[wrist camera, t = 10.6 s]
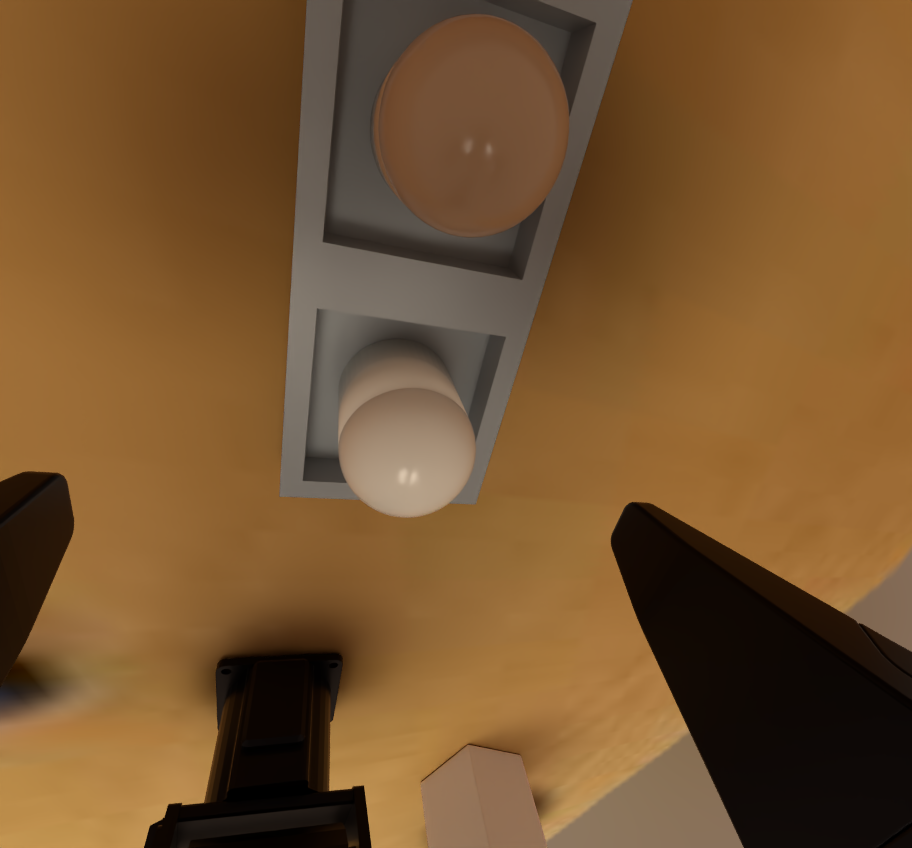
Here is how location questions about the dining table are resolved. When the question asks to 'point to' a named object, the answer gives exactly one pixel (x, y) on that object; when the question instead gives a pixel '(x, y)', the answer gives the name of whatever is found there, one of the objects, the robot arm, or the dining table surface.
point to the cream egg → (402, 430)
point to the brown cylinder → (471, 125)
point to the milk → (481, 802)
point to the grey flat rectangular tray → (414, 228)
